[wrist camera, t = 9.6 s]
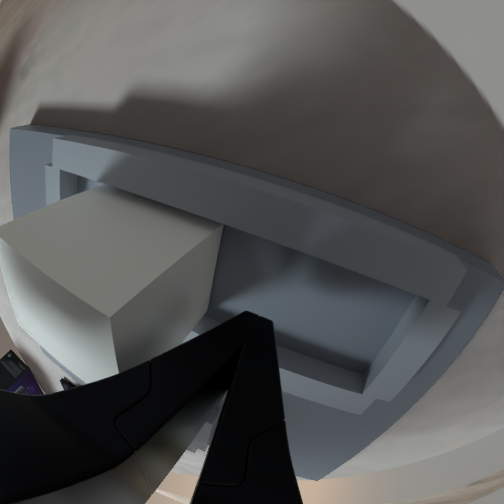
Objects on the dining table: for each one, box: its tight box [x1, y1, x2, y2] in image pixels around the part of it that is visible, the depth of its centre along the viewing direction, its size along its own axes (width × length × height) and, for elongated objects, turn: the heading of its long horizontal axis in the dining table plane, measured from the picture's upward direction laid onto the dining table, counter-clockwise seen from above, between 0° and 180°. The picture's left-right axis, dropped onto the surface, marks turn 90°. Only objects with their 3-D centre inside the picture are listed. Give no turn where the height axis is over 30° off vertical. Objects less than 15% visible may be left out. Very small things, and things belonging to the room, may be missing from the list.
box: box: [0, 350, 44, 395], centre depth 31 cm, size 17×7×12 cm, turn 168°
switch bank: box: [10, 124, 504, 481], centre depth 13 cm, size 17×24×2 cm
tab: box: [0, 184, 224, 384], centre depth 8 cm, size 4×5×5 cm
